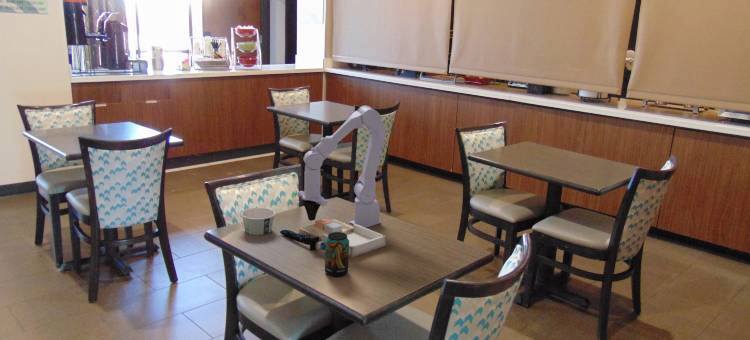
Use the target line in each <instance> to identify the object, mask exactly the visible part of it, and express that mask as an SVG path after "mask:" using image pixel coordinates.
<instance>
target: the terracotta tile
mask: <svg viewBox="0 0 750 340" xmlns="http://www.w3.org/2000/svg"><path fill="white" fill-rule="evenodd" d="M330 220H331V219H327V218H324V217H323V218H321V219H318V220H314V222H315V223H314V224H315V226H316V227H318V228H320V229H323V230H324V225H326V224H329V223H332V222H333V221H330Z"/></svg>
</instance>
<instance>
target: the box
mask: <svg viewBox="0 0 750 340" xmlns="http://www.w3.org/2000/svg"><path fill="white" fill-rule="evenodd" d="M353 227H354V230H353V232H351V233H347V234H346V235H347V238H348V240H349V258H354V257H358V256H360V255H363V254H366V253H369V252H371V251H375V250H377V249H379V248H382V247H385V246H386V245H387V244H386V243H387V236H386V235H385V234H382V233H379V232H377V231H375V230H372V229H370V228H368V227H367V228H365V227H362V226H360V225H357V224H354V225H353ZM327 238H328V235H326V234H322V237H321V242H326V239H327Z"/></svg>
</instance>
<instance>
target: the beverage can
mask: <svg viewBox="0 0 750 340" xmlns="http://www.w3.org/2000/svg"><path fill="white" fill-rule="evenodd" d="M324 251H325V252H324V253H325V255H324V272H325V273H326V274H327V275H328V276H330V277H334V278H336V277H337V278H340V277H343V276H345V275H346V274H347V273H348V272H349V262H350V261H349V258H350V257H349V240H348V238H347V235H346V234H345V233H341V232H333V233H330V234H328V238H327V239H326V247H325V250H324Z"/></svg>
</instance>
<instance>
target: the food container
mask: <svg viewBox="0 0 750 340" xmlns="http://www.w3.org/2000/svg"><path fill="white" fill-rule="evenodd" d="M275 215H276V212H275V210H273V209H271V208H269V207H268V208H267V207H251V208H248V209H245V210H244V209H243V210H242V211H241V213H240V216H241V217H242V222H243V227H244V231H245V233H246V232H247V234H248V233H249V235H252V234H253V235H252V236H254V235H255V236H261V235H262V236H263V235H267V234H270V233H271V232H272V231H273V230H272V229H273V224H274V223H273V222H274V218H275Z"/></svg>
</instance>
